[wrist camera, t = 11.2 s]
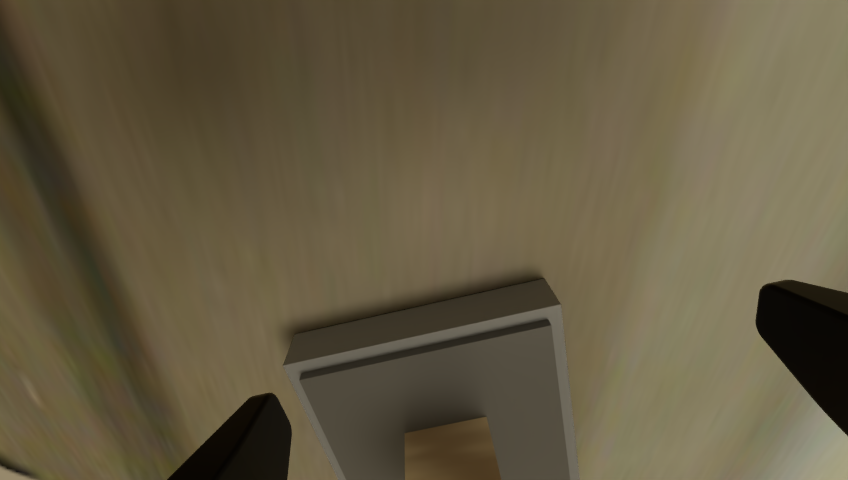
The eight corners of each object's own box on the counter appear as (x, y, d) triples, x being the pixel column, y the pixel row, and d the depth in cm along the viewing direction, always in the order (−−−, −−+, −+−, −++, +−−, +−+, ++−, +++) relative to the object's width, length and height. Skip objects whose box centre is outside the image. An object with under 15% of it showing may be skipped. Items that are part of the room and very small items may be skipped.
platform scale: (544, 278, 22) (564, 310, 19) (568, 472, 29) (586, 516, 26) (294, 334, 23) (280, 372, 20) (374, 511, 29) (371, 557, 27)
